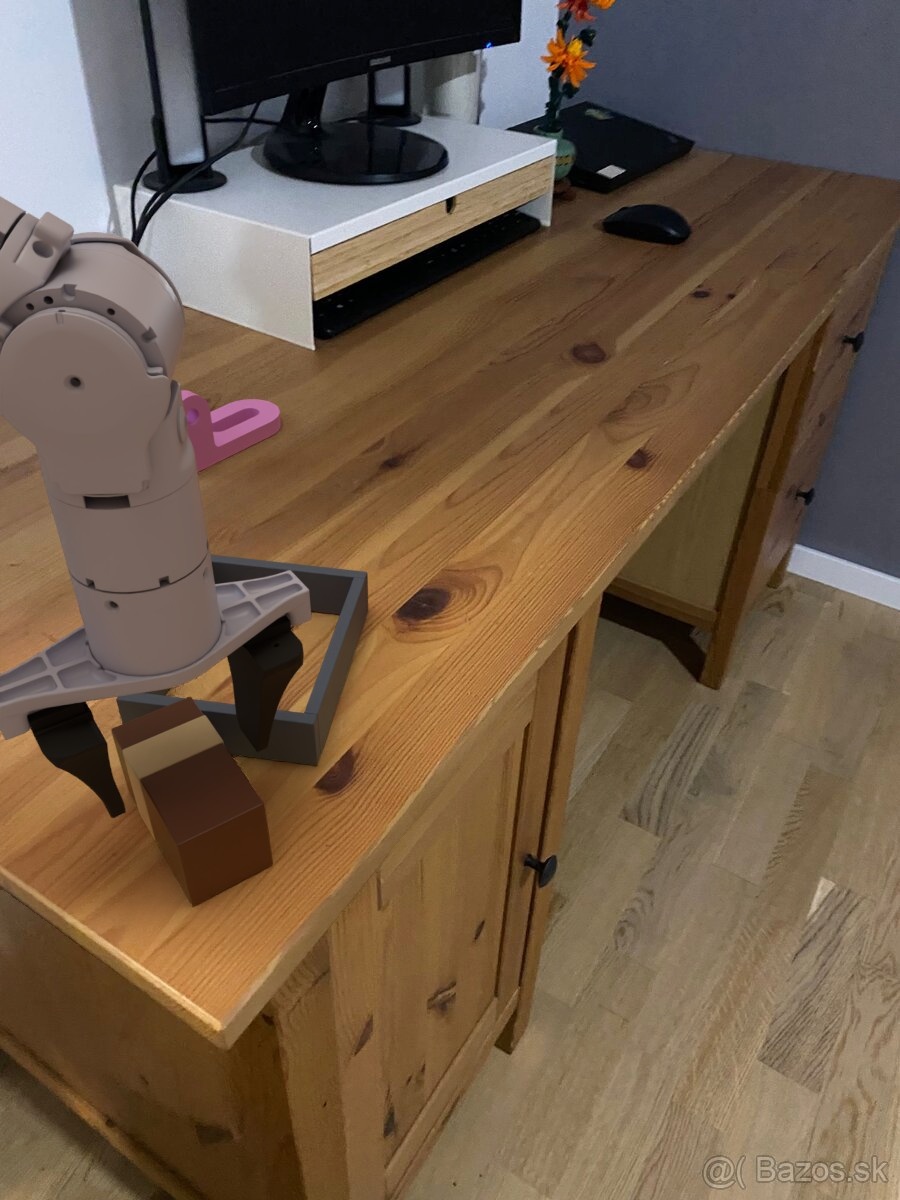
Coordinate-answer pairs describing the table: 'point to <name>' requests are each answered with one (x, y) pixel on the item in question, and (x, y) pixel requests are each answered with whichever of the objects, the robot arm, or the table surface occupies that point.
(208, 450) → the bracket
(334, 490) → the table surface
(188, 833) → the brown tan banded block
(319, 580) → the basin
